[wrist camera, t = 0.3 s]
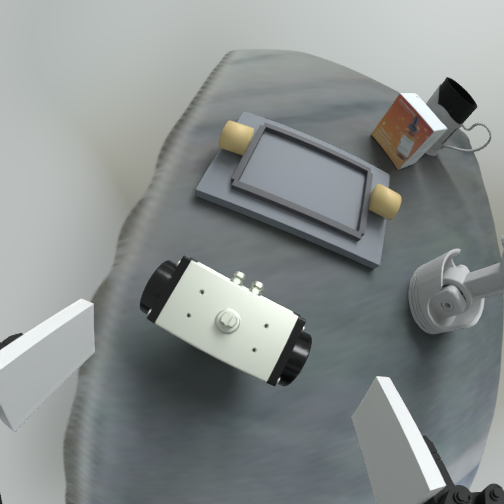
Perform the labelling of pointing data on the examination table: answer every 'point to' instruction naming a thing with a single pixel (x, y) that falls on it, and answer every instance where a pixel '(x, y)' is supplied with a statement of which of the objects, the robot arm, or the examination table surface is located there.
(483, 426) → the examination table surface
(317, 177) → the mounting plate
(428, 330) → the engine component
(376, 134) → the small box
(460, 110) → the glass holder
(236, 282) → the pneumatic valve
